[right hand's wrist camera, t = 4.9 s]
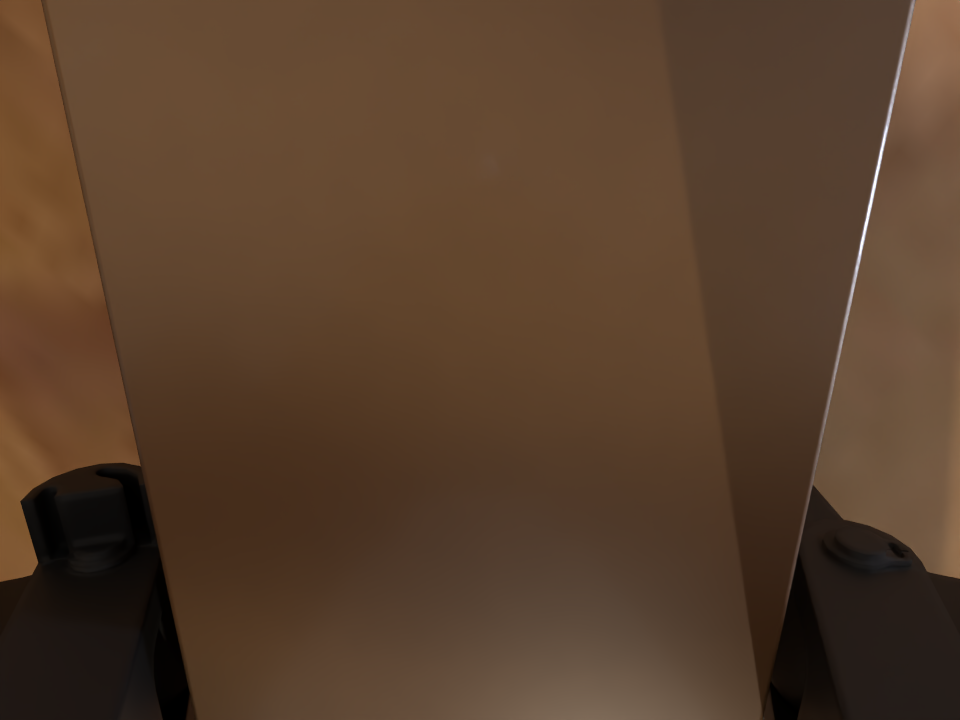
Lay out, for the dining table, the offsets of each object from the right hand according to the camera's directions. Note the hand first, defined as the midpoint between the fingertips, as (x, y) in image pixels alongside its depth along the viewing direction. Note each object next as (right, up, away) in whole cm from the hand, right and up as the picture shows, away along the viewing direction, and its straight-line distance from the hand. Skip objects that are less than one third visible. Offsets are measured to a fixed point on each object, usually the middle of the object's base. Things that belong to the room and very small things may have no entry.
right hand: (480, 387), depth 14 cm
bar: (0, +19, -7) cm, 21 cm away
